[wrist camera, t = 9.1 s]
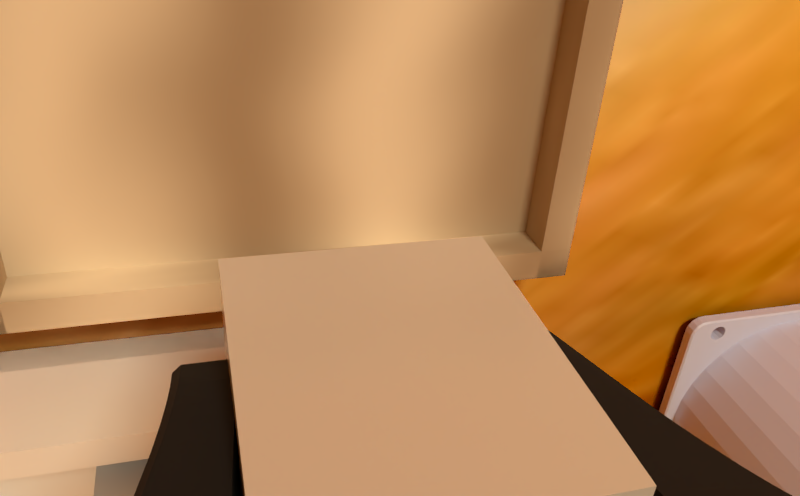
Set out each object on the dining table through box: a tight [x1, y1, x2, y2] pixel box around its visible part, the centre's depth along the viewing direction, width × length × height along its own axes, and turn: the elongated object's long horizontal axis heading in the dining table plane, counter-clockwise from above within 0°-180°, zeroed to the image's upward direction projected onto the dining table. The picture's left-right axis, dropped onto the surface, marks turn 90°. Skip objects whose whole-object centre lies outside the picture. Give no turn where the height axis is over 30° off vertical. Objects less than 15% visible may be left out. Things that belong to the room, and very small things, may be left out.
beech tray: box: [0, 0, 623, 334], centre depth 15 cm, size 14×13×2 cm
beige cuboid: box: [218, 236, 657, 496], centre depth 9 cm, size 4×4×4 cm
